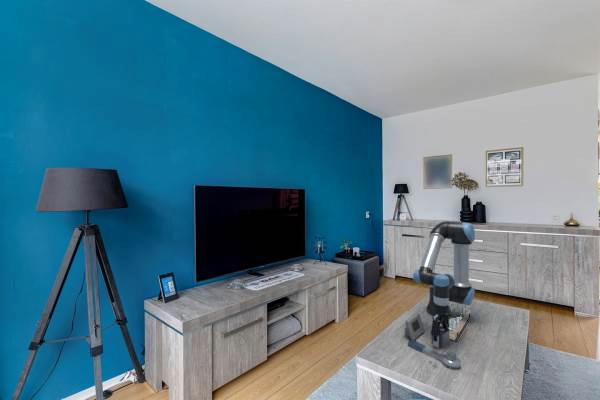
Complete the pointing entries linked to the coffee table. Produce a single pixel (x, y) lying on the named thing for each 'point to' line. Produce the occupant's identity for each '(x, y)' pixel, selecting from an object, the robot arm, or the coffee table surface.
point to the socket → (443, 337)
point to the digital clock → (414, 326)
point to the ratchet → (438, 355)
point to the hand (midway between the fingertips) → (440, 343)
